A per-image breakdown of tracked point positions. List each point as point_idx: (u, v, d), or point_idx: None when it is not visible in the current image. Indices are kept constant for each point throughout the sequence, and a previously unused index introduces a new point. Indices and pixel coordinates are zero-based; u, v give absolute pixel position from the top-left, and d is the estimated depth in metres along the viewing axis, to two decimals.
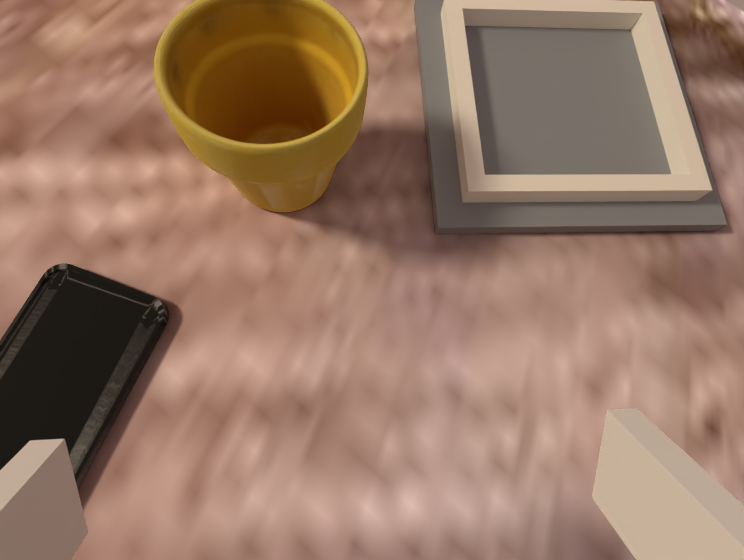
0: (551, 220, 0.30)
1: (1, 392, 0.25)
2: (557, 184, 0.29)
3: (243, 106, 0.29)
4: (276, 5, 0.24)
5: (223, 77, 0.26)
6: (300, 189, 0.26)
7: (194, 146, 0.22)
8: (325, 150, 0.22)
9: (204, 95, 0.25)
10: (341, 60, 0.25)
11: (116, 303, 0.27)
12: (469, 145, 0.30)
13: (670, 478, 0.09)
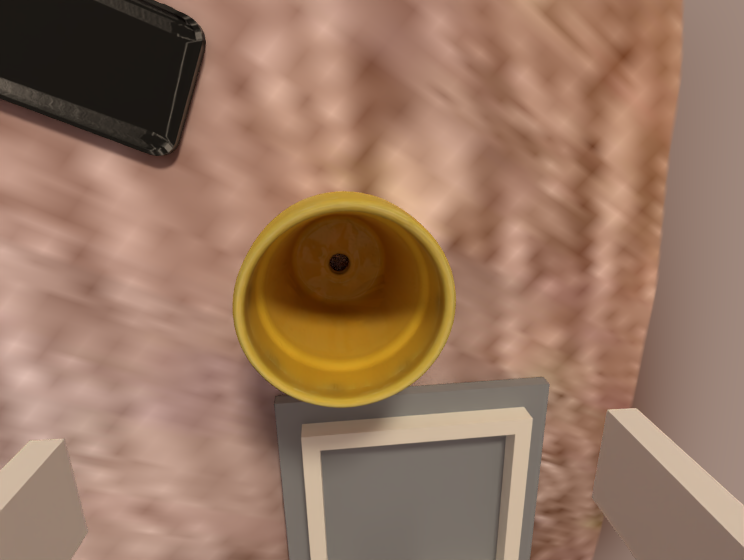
0: (288, 492, 0.34)
1: None
2: (313, 506, 0.33)
3: (383, 231, 0.26)
4: (439, 309, 0.22)
5: (389, 229, 0.24)
6: None
7: None
8: None
9: None
10: (389, 361, 0.24)
11: (164, 102, 0.26)
12: (350, 438, 0.31)
13: (670, 478, 0.09)
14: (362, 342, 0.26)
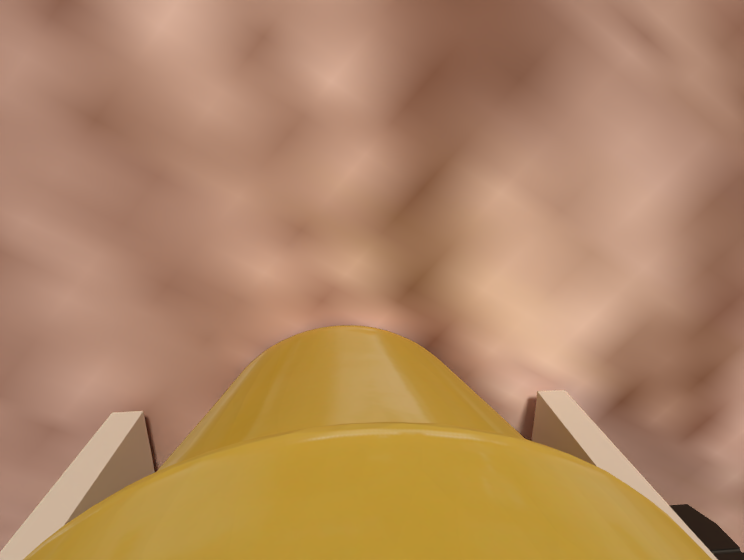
0: None
1: None
2: None
3: None
4: None
5: None
6: None
7: None
8: None
9: None
10: None
11: None
12: None
13: (581, 450, 0.10)
14: None
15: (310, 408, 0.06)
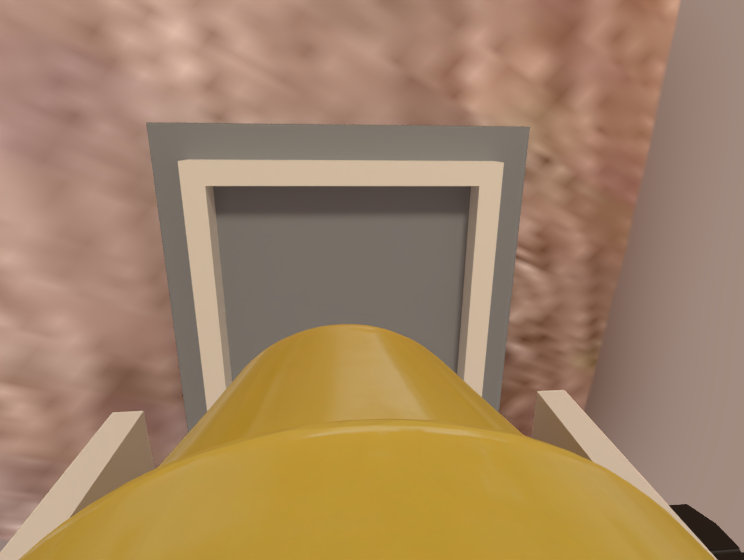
0: (173, 268, 0.25)
1: None
2: (200, 276, 0.24)
3: None
4: None
5: None
6: None
7: None
8: None
9: None
10: None
11: None
12: (248, 170, 0.23)
13: (580, 450, 0.10)
14: None
15: (310, 406, 0.06)
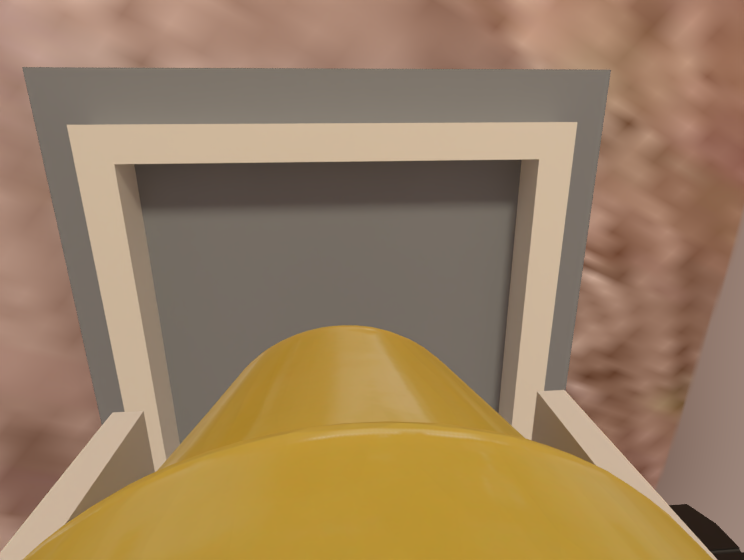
0: (83, 290, 0.17)
1: None
2: (117, 303, 0.16)
3: None
4: None
5: None
6: None
7: None
8: None
9: None
10: None
11: None
12: (181, 138, 0.14)
13: (580, 450, 0.10)
14: None
15: (310, 408, 0.06)
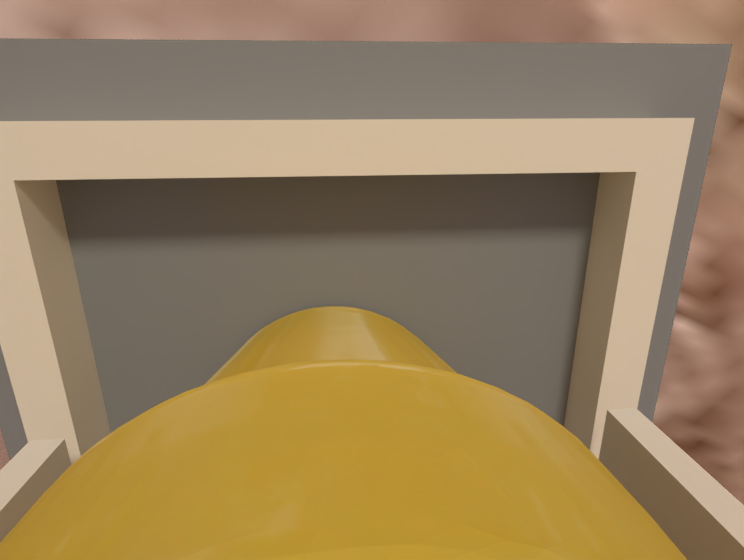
0: None
1: None
2: (30, 376, 0.11)
3: None
4: None
5: None
6: None
7: None
8: None
9: None
10: None
11: None
12: (112, 142, 0.10)
13: (670, 478, 0.09)
14: None
15: (297, 361, 0.08)
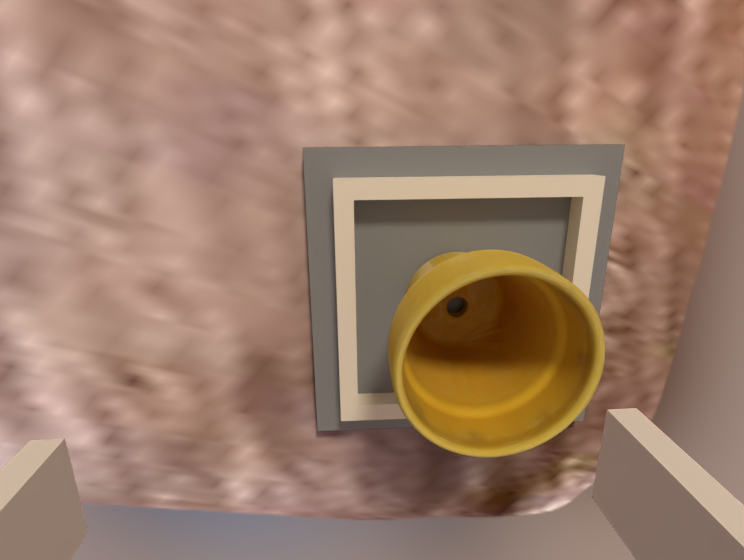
0: (315, 269, 0.30)
1: None
2: (343, 276, 0.28)
3: (510, 280, 0.27)
4: (583, 366, 0.23)
5: (526, 283, 0.25)
6: None
7: (415, 295, 0.22)
8: None
9: None
10: (522, 410, 0.25)
11: None
12: (390, 186, 0.27)
13: (670, 478, 0.09)
14: (488, 388, 0.27)
15: None
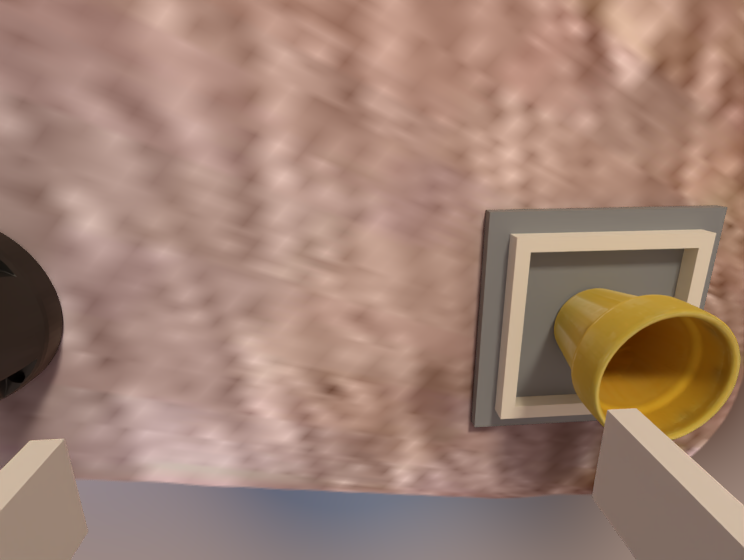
0: (488, 302, 0.38)
1: None
2: (516, 308, 0.37)
3: None
4: (719, 377, 0.32)
5: None
6: (568, 362, 0.36)
7: (607, 329, 0.30)
8: (591, 412, 0.32)
9: None
10: (665, 409, 0.34)
11: None
12: (558, 242, 0.36)
13: (670, 478, 0.09)
14: (632, 393, 0.36)
15: (628, 298, 0.33)
